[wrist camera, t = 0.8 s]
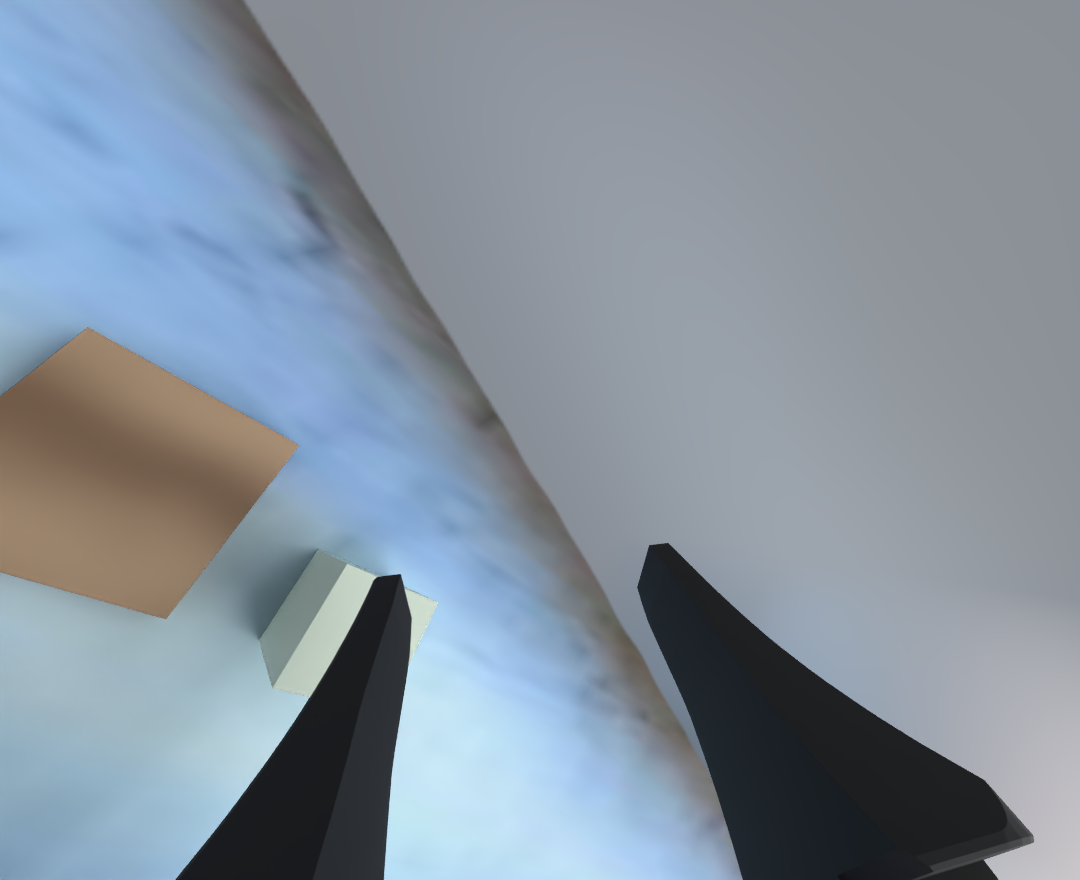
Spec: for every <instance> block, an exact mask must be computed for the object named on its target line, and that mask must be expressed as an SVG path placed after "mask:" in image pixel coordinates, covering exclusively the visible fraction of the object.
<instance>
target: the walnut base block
mask: <svg viewBox="0 0 1080 880" xmlns="http://www.w3.org/2000/svg"><path fill="white" fill-rule="evenodd" d="M298 446H299V445H298V444H296V443H295V442H293V441H291V440H289V439H287V438H286V437H284V436H282V435H280V434H278V433H277V432H275V431H273V430H271V429H269V428H268V427H266V426H264V425H262V424H260V423H259V422H257V421H255V420H253V419H251V418H250V417H248V416H246V415H244V414H242V413H241V412H239V411H237V410H235V409H234V408H232V407H230V406H228V405H226V404H225V403H223V402H221V401H219V400H217V399H216V398H214V397H212V396H210V395H208V394H207V393H205V392H203V391H201V390H199V389H198V388H196V387H194V386H192V385H190V384H189V383H187V382H185V381H183V380H181V379H180V378H178V377H176V376H174V375H173V374H171V373H169V372H167V371H165V370H164V369H162V368H160V367H158V366H156V365H155V364H153V363H151V362H149V361H147V360H146V359H144V358H142V357H140V356H138V355H137V354H135V353H133V352H131V351H129V350H128V349H126V348H124V347H122V346H121V345H119V344H117V343H115V342H113V341H112V340H110V339H108V338H106V337H104V336H103V335H101V334H99V333H97V332H95V331H94V330H92V329H90V328H88V327H87V328H86V329H85V330H84V331H82V332H81V333H80V334H79V335H77V336H76V337H75V338H74V339H72V340H71V341H70V342H69V343H67V344H66V345H65V346H64V347H62V348H61V349H60V350H59V351H57V352H56V353H55V354H54V355H52V356H51V357H50V358H48V359H47V360H46V361H45V362H43V363H42V364H41V365H40V366H38V367H37V368H36V369H35V370H33V371H32V372H31V373H30V374H28V375H27V376H26V377H25V378H23V379H22V380H21V381H20V382H18V383H17V384H16V385H15V386H13V387H12V388H11V389H9V390H8V391H7V392H6V393H4V394H3V395H2V396H1V397H0V572H2V573H5V574H9V575H12V576H16V577H19V578H23V579H27V580H30V581H34V582H37V583H41V584H44V585H48V586H51V587H55V588H58V589H62V590H65V591H69V592H72V593H76V594H79V595H83V596H86V597H90V598H93V599H97V600H100V601H104V602H107V603H111V604H114V605H118V606H121V607H125V608H129V609H132V610H136V611H139V612H143V613H146V614H150V615H153V616H157V617H160V618H164V619H166V618H167V617H168V616H169V615H170V613H171V612H172V611H173V609H174V608H175V607H176V605H177V604H178V603H179V601H180V600H181V599H182V598H183V596H184V595H185V594H186V592H187V591H188V590H189V588H190V587H191V586H192V585H193V583H194V582H195V581H196V579H197V578H198V577H199V575H200V574H201V573H202V572H203V570H204V569H205V568H206V566H207V565H208V564H209V562H210V561H211V560H212V558H213V557H214V556H215V555H216V553H217V552H218V551H219V549H220V548H221V547H222V545H223V544H224V543H225V542H226V540H227V539H228V538H229V536H230V535H231V534H232V532H233V531H234V530H235V528H236V527H237V526H238V525H239V523H240V522H241V521H242V519H243V518H244V517H245V515H246V514H247V513H248V512H249V510H250V509H251V508H252V506H253V505H254V504H255V502H256V501H257V500H258V498H259V497H260V496H261V495H262V493H263V492H264V491H265V489H266V488H267V487H268V485H269V484H270V483H271V482H272V480H273V479H274V478H275V476H276V475H277V474H278V472H279V471H280V470H281V468H282V467H283V466H284V465H285V463H286V462H287V461H288V459H289V458H290V457H291V455H292V454H293V453H294V452H295V450H296V449H297V448H298Z"/></svg>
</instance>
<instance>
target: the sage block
mask: <svg viewBox="0 0 1080 880" xmlns="http://www.w3.org/2000/svg"><path fill="white" fill-rule="evenodd" d="M377 577H381V576H380V575H377V574H375V573H373V572H370V571H368V570H366V569H364V568H361V567H359V566H357V565H354V564H352V563H350V562H347V561H345V560H343V559H340V558H338V557H336V556H333V555H331V554H329V553H326V552H324V551H322V550H320V549H318V550H317V551H316V553H315V554H314V556H313V557H312V559H311V561H310V562H309V564H308V565H307V567H306V568H305V570H304V571H303V573H302V574H301V576H300V578H299V579H298V581H297V582H296V584H295V585H294V587H293V588H292V590H291V591H290V593H289V594H288V596H287V598H286V599H285V601H284V602H283V604H282V605H281V607H280V608H279V610H278V611H277V613H276V615H275V616H274V618H273V619H272V621H271V622H270V624H269V625H268V627H267V628H266V630H265V632H264V633H263V635H262V636H261V638H260V639H259V642H260V646H261V649H262V653H263V656H264V660H265V663H266V667H267V670H268V674H269V678H270V681H271V685H272V688H274V689H278V690H283V691H287V692H291V693H295V694H300V695H304V696H308V697H310V696H311V695H312V693H313V691H314V690H315V688H316V687H317V685H318V683H319V682H320V680H321V678H322V677H323V675H324V674H325V672H326V670H327V669H328V667H329V665H330V664H331V662H332V660H333V658H334V656H335V655H336V653H337V651H338V649H339V648H340V646H341V644H342V642H343V640H344V639H345V637H346V635H347V633H348V631H349V629H350V628H351V626H352V624H353V622H354V620H355V618H356V616H357V614H358V612H359V610H360V608H361V606H362V604H363V602H364V600H365V598H366V596H367V594H368V592H369V589H370V587H371V585H372V583H373V580H374V579H375V578H377ZM404 589H405V593H406V597H407V601H408V605H409V609H410V613H411V616H412V625H411V643H410V658H409V663H410V661H411V659H412V657H413V655H414V653H415V651H416V649H417V646H418V644H419V642H420V640H421V638H422V636H423V634H424V632H425V630H426V628H427V625H428V623H429V621H430V619H431V617H432V615H433V613H434V611H435V609H436V606H437V604H438V602H436V601H434V600H432V599H429V598H427V597H425V596H423V595H421V594H419V593H417V592H415V591H413V590H410V589H408V588H406V587H404Z"/></svg>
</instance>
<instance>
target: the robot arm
mask: <svg viewBox="0 0 1080 880" xmlns="http://www.w3.org/2000/svg"><path fill="white" fill-rule="evenodd" d="M637 588H638V592H639V595H640V598H641V601H642V605H643V607H644V611H645V613H646V617H647V620H648V622H649V624H650V627H651V629H652V631H653V634H654V636H655V638H656V640H657V643H658V645H659V647H660V649H661V651H662V654H663V656H664V658H665V660H666V662H667V665H668V667H669V669H670V671H671V673H672V675H673V678H674V680H675V682H676V684H677V687H678V689H679V691H680V693H681V695H682V698H683V700H684V702H685V705H686V707H687V710H688V712H689V714H690V717H691V720H692V722H693V725H694V728H695V731H696V734H697V736H698V739H699V742H700V745H701V748H702V751H703V753H704V756H705V759H706V762H707V765H708V768H709V771H710V774H711V777H712V780H713V783H714V786H715V789H716V792H717V795H718V798H719V802H720V805H721V808H722V811H723V814H724V818H725V821H726V824H727V827H728V831H729V834H730V837H731V840H732V843H733V847H734V850H735V854H736V857H737V861H738V864H739V868H740V871H741V875H742V878H743V880H998V878H997V877H996V876H995V874H994V873H993V872H992V870H991V869H990V868H989V867H988V865H987V864H986V863H985V861H984V859H987V858H990V857H993V856H996V855H998V854H1002V853H1005V852H1008V851H1010V850H1014V849H1017V848H1019V847H1022V846H1025V845H1028V844H1031V843H1033V842H1034V838H1033V835H1032V834H1031V833H1030V831H1029V830H1028V829H1027V828H1026V827H1025V826H1024V824H1022V822H1021V821H1020V820H1019V819H1018V818H1017V817H1016V815H1015V814H1014V813H1013V812H1012V811H1011V810H1010V809H1009V807H1008V806H1007V805H1006V804H1005V803H1004V802H1003V801H1002V799H1001V798H999V796H998V795H997V794H996V793H995V791H994V790H993V789H992V788H991V787H990V786H989V785H988V784H987V783H986V782H985V781H984V780H983V779H981V778H980V777H978V776H976V775H974V774H973V773H971V772H969V771H967V770H966V769H964V768H962V767H961V766H959V765H957V764H955V763H953V762H952V761H950V760H948V759H947V758H945V757H943V756H941V755H940V754H938V753H936V752H934V751H933V750H931V749H929V748H927V747H926V746H924V745H922V744H921V743H919V742H917V741H916V740H914V739H912V738H911V737H909V736H908V735H906V734H904V733H903V732H901V731H900V730H898V729H896V728H895V727H893V726H892V725H890V724H888V723H887V722H885V721H883V720H882V719H880V718H879V717H877V716H876V715H874V714H873V713H871V712H870V711H868V710H867V709H865V708H864V707H862V706H861V705H859V704H858V703H856V702H855V701H853V700H852V699H850V698H849V697H848V696H846V695H845V694H843V693H842V692H840V691H839V690H837V689H836V688H835V687H833V686H832V685H830V684H829V683H827V682H826V681H824V680H823V679H822V678H820V677H819V676H818V675H816V674H815V673H813V672H812V671H811V670H809V669H808V668H807V667H805V666H804V665H803V664H802V663H800V662H799V661H798V660H796V659H795V658H794V657H792V656H791V655H790V654H789V653H787V652H786V651H785V650H783V649H782V648H781V647H780V646H778V645H777V644H776V643H775V642H773V641H772V640H771V639H770V638H768V637H767V636H766V635H765V634H764V633H763V632H762V631H760V630H759V629H758V628H757V627H756V626H755V625H754V624H752V623H751V622H750V621H749V620H748V619H747V618H745V617H744V616H743V615H742V614H741V613H740V612H739V611H738V610H737V609H736V608H735V607H733V606H732V605H731V604H730V603H729V602H728V601H727V600H726V599H725V598H724V597H723V596H722V595H721V594H720V593H718V592H717V591H716V590H715V589H714V588H713V587H712V586H711V585H710V584H709V583H708V582H707V581H706V580H705V579H704V578H703V577H702V576H701V575H700V574H699V573H698V572H697V571H696V570H695V569H694V568H693V567H692V566H691V565H690V564H689V563H688V562H687V561H686V560H685V559H684V558H683V557H682V556H681V555H680V554H678V552H677V551H676V550H675V549H674V548H673V547H672V546H671V545H669V543H665V544H656V545H649V548H648V552H647V556H646V559H645V562H644V566H643V569H642V573H641V576H640V580H639V583H638V587H637ZM411 625H412V616H411V613H410V609H409V605H408V601H407V597H406V593H405V589H404V585H403V581H402V577H401V574H398V575H389V576H381V577H377V578H375V579H374V580H373V583H372V585H371V587H370V589H369V592H368V594H367V596H366V598H365V600H364V602H363V604H362V606H361V608H360V610H359V612H358V614H357V616H356V618H355V620H354V622H353V624H352V626H351V628H350V629H349V631H348V633H347V635H346V637H345V639H344V640H343V642H342V644H341V646H340V648H339V649H338V651H337V653H336V655H335V656H334V658H333V660H332V662H331V664H330V665H329V667H328V669H327V670H326V672H325V674H324V675H323V677H322V678H321V680H320V682H319V683H318V685H317V687H316V688H315V690H314V691H313V693H312V695H311V696H310V698H309V700H308V701H307V703H306V704H305V706H304V708H303V709H302V711H301V712H300V714H299V715H298V717H297V718H296V720H295V721H294V723H293V724H292V726H291V727H290V729H289V730H288V732H287V733H286V735H285V736H284V738H283V739H282V741H281V742H280V743H279V745H278V746H277V748H276V749H275V751H274V752H273V753H272V755H271V756H270V758H269V759H268V761H267V762H266V763H265V765H264V766H263V768H262V769H261V770H260V772H259V773H258V774H257V776H256V777H255V778H254V780H253V781H252V782H251V784H250V785H249V787H248V788H247V789H246V791H245V792H244V793H243V795H242V796H241V797H240V799H239V800H238V801H237V803H236V804H235V805H234V807H233V808H232V809H231V811H230V812H229V813H228V815H227V816H226V817H225V819H224V820H223V821H222V822H221V824H220V825H219V826H218V828H217V829H216V830H215V831H214V833H213V834H212V835H211V836H210V838H209V839H208V840H207V841H206V843H205V844H204V845H203V846H202V847H201V849H200V850H199V851H198V852H197V854H196V855H195V856H194V857H193V859H192V860H191V861H190V862H189V864H188V865H187V866H186V867H185V868H184V870H183V871H182V872H181V873H180V875H179V876H178V877H177V878H176V880H384V867H385V853H386V839H387V825H388V812H389V800H390V787H391V775H392V767H393V759H394V752H395V746H396V739H397V733H398V727H399V721H400V715H401V709H402V702H403V696H404V690H405V684H406V677H407V671H408V665H409V658H410V643H411Z"/></svg>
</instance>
